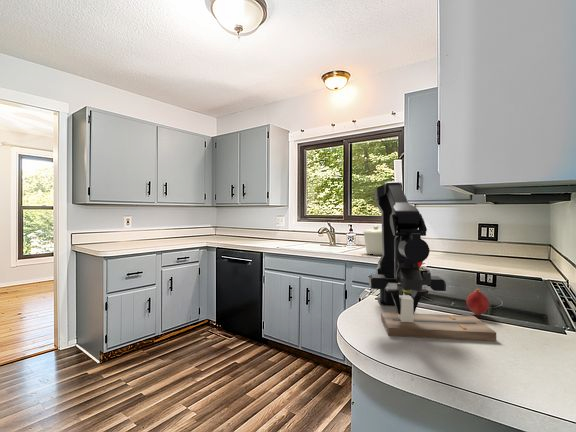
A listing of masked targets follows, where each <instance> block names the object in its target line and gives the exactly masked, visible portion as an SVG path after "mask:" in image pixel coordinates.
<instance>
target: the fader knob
mask: <svg viewBox="0 0 576 432" xmlns="http://www.w3.org/2000/svg"><path fill="white" fill-rule="evenodd" d="M399 300H400V314H398V317H399V319H400V320H401V322H414V317H413V299H412V297H411V294H409V295H407V294H406V295H405V294H401V295H400V294H399Z"/></svg>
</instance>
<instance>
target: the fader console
mask: <svg viewBox="0 0 576 432" xmlns="http://www.w3.org/2000/svg"><path fill="white" fill-rule="evenodd" d="M413 317H414V322H401V320H400V319H399V317H398V312H390V311H389V312H380V319H381V322H382V324H383V326H384V329H385V331H386V334H387V336H392V337H407V338H408V337H409V338H410V337H411V338H412V337H413V338H430V339H431V338H432V339H446V340H447V339H451V340H469V341H471V340H472V341H492V342H497V332H496V331H495V330H493V329H492V328H491V327H489V326H488V325H487V324H486V323H484V322H483V321H481V320H480V319H478V317H476V315H475V316H474V315H460V314H458V315H457V314H437V313H435V314H434V313H414V315H413Z"/></svg>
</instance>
